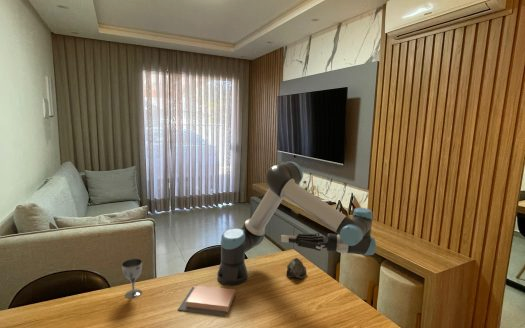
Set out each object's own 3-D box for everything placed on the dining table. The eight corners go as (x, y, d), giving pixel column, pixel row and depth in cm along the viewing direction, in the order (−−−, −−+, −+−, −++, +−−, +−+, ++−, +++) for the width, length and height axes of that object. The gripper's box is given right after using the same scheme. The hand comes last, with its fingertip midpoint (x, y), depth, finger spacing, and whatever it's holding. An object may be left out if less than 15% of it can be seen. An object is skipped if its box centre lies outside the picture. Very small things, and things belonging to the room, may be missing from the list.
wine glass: (147, 290, 134) (145, 260, 131) (134, 301, 126) (132, 268, 124) (133, 287, 136) (131, 257, 134) (119, 296, 129) (117, 265, 126)
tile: (234, 294, 132) (196, 290, 134) (234, 289, 132) (196, 285, 134) (227, 312, 120) (186, 306, 123) (228, 306, 120) (186, 301, 122)
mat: (192, 288, 137) (192, 287, 137) (234, 292, 134) (234, 291, 134) (177, 310, 121) (177, 309, 121) (224, 316, 119) (224, 315, 118)
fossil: (305, 281, 144) (297, 263, 144) (289, 286, 147) (280, 269, 146) (308, 269, 155) (299, 253, 154) (292, 274, 157) (284, 258, 157)
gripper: (337, 258, 119) (279, 253, 122) (334, 244, 132) (282, 240, 135) (339, 241, 118) (280, 236, 121) (335, 228, 130) (282, 224, 134)
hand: (281, 238), depth 128 cm, fingers closed
